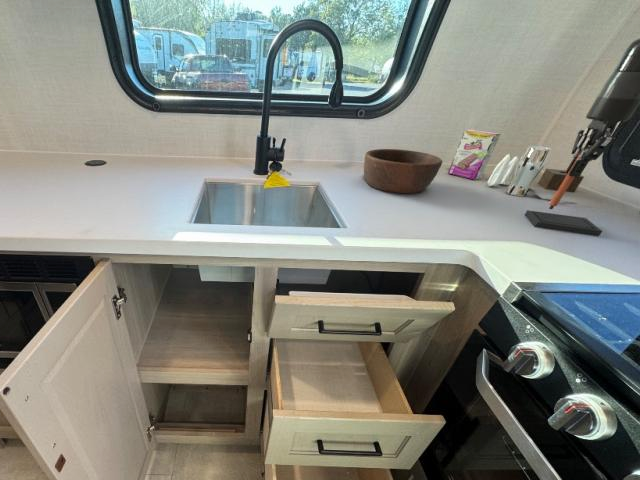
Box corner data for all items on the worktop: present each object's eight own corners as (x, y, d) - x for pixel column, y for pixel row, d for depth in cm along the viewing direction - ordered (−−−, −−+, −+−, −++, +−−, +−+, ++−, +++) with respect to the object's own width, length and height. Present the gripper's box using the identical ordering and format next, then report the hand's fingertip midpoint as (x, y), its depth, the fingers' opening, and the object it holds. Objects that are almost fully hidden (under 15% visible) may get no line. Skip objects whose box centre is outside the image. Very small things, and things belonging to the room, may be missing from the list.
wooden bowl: (411, 177, 127) (420, 149, 120) (445, 197, 106) (458, 165, 100) (350, 176, 126) (356, 148, 120) (373, 196, 106) (382, 164, 99)
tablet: (582, 223, 90) (586, 218, 89) (598, 236, 82) (602, 231, 82) (524, 214, 94) (527, 210, 93) (534, 227, 87) (537, 221, 86)
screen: (580, 220, 89) (581, 218, 89) (592, 230, 83) (593, 228, 83) (532, 214, 92) (534, 212, 92) (541, 223, 87) (542, 221, 86)
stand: (561, 191, 115) (574, 171, 111) (570, 197, 109) (584, 176, 105) (535, 188, 118) (546, 168, 113) (542, 194, 111) (554, 173, 107)
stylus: (553, 208, 88) (586, 154, 79) (555, 210, 86) (589, 155, 78) (546, 207, 88) (578, 153, 80) (548, 209, 87) (581, 154, 79)
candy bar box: (446, 174, 132) (464, 130, 122) (452, 172, 134) (470, 129, 124) (474, 180, 124) (495, 134, 114) (480, 179, 126) (501, 133, 117)
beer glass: (503, 189, 115) (526, 144, 106) (527, 193, 112) (552, 147, 103) (503, 194, 111) (527, 147, 102) (527, 198, 107) (554, 150, 98)
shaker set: (493, 189, 115) (509, 156, 109) (482, 186, 118) (496, 154, 112) (510, 185, 120) (527, 153, 114) (499, 182, 123) (514, 151, 117)
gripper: (660, 98, 65) (602, 183, 76) (625, 95, 76) (578, 170, 86) (614, 96, 68) (563, 179, 78) (586, 94, 78) (545, 167, 88)
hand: (571, 174), depth 82 cm, fingers closed on stylus, 1 cm apart
